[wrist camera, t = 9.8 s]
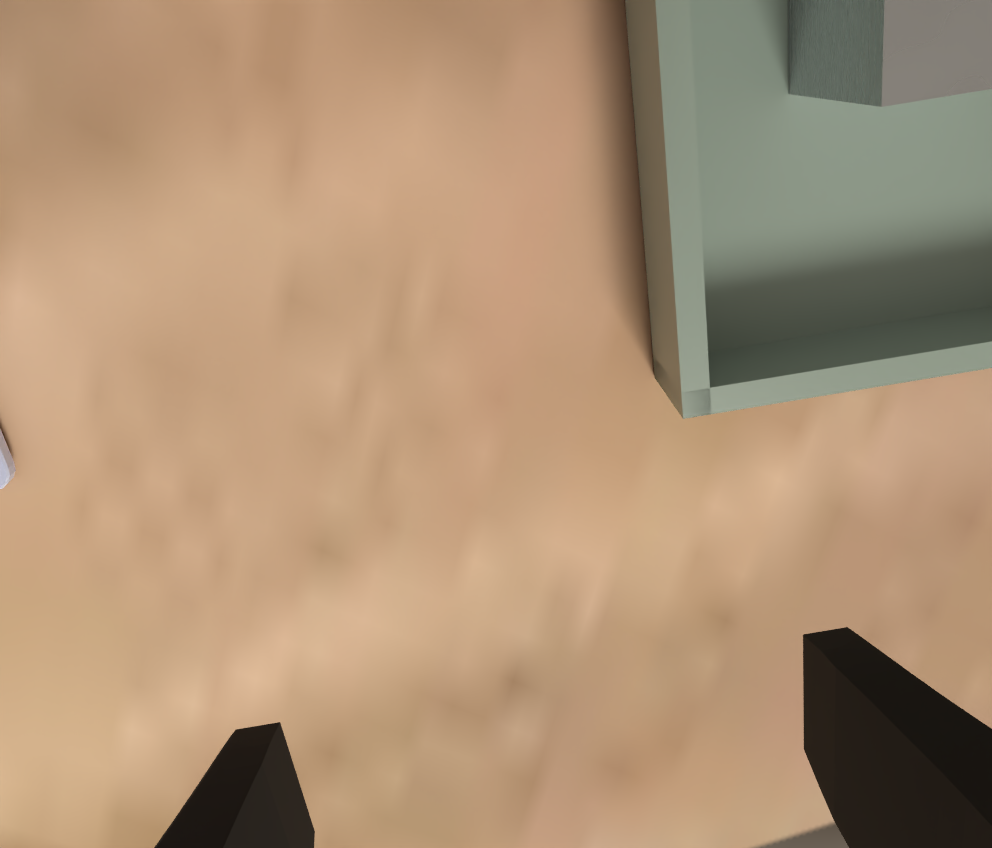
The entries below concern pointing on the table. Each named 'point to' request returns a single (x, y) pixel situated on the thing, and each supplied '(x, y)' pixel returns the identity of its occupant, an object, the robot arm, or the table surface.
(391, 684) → the table surface
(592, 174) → the table surface
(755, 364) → the bin tray
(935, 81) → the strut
